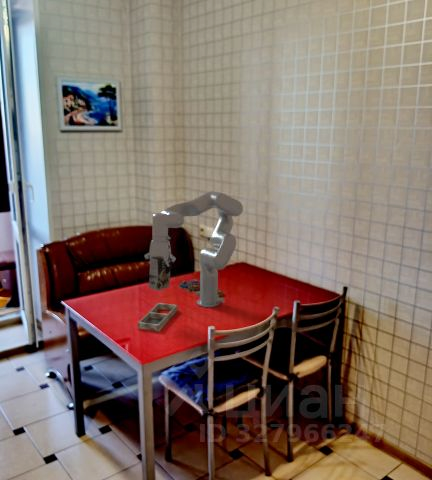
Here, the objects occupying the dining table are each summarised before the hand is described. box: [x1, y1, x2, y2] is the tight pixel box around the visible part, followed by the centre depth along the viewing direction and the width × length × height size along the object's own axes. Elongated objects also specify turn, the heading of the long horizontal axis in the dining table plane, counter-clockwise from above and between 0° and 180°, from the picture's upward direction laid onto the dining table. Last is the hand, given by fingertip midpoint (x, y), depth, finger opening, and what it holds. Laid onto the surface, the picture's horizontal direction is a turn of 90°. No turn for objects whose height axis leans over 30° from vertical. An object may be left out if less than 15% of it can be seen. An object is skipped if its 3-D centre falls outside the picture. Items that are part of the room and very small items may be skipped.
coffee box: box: [148, 257, 172, 292], centre depth 230 cm, size 9×6×16 cm
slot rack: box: [137, 302, 179, 332], centre depth 233 cm, size 11×27×3 cm, turn 166°
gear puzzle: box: [177, 279, 225, 297], centre depth 275 cm, size 31×16×4 cm, turn 46°
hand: (159, 272), depth 230 cm, fingers closed on coffee box, 7 cm apart
